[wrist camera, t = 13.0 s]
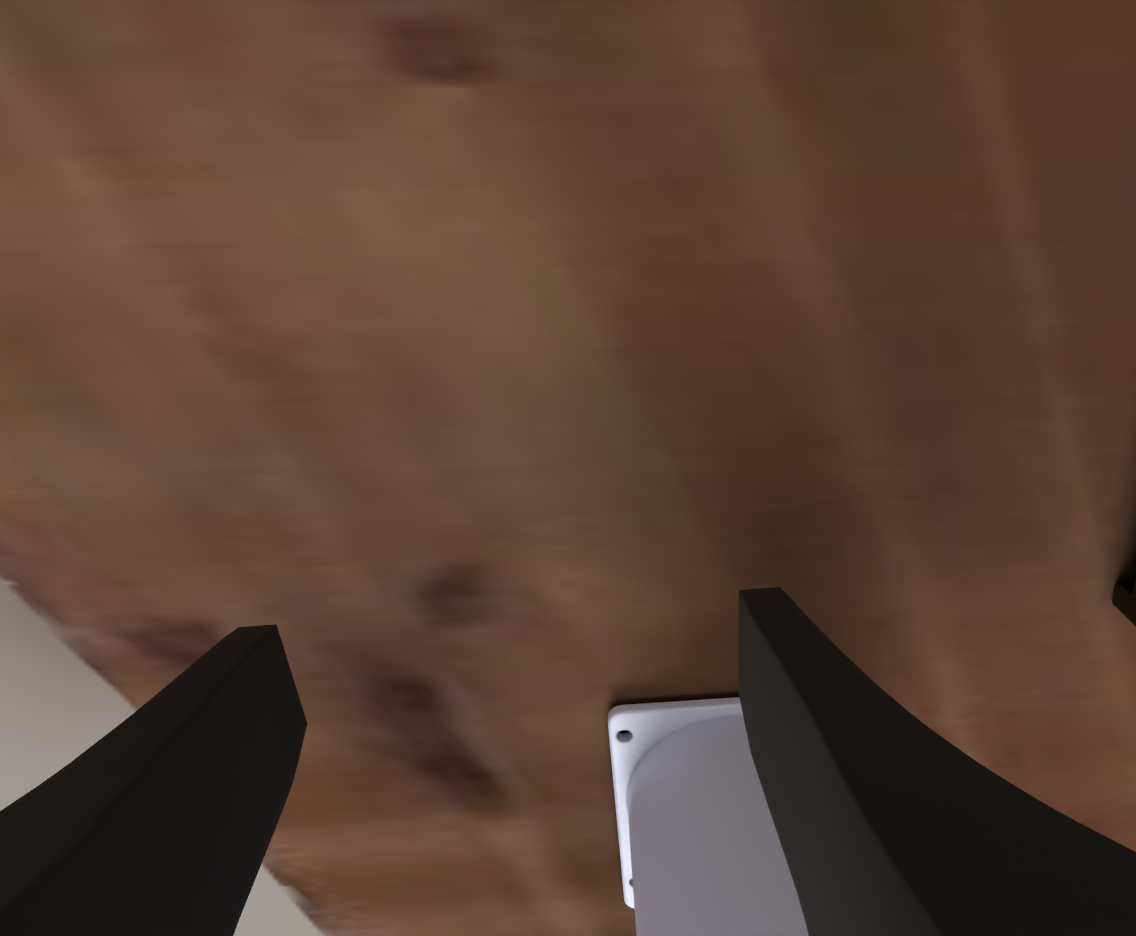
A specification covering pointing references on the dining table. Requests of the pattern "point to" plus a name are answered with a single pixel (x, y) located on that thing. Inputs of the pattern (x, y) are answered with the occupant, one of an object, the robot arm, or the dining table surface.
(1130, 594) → the rack
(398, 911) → the dining table surface
